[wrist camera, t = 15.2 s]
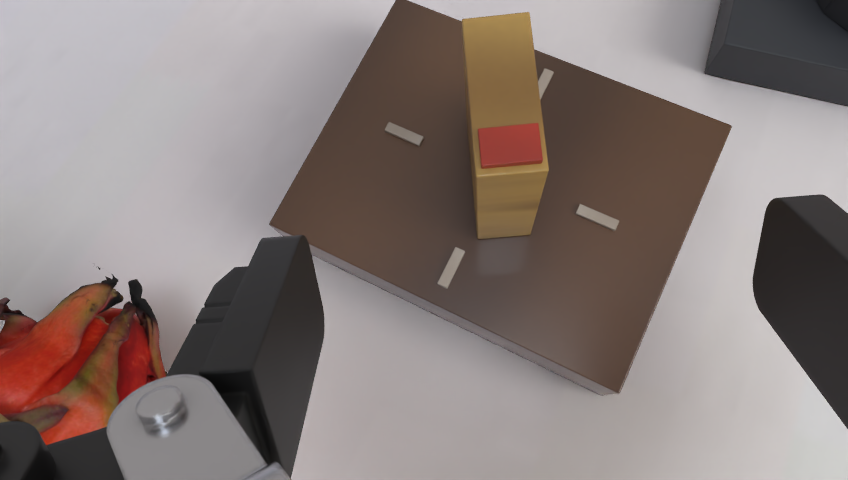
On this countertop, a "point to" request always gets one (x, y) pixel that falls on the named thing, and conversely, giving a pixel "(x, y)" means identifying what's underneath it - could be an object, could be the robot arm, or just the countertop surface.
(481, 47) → the lock knob
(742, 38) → the box
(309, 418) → the countertop surface
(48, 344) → the dragon fruit
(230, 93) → the countertop surface
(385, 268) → the panel
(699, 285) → the countertop surface
